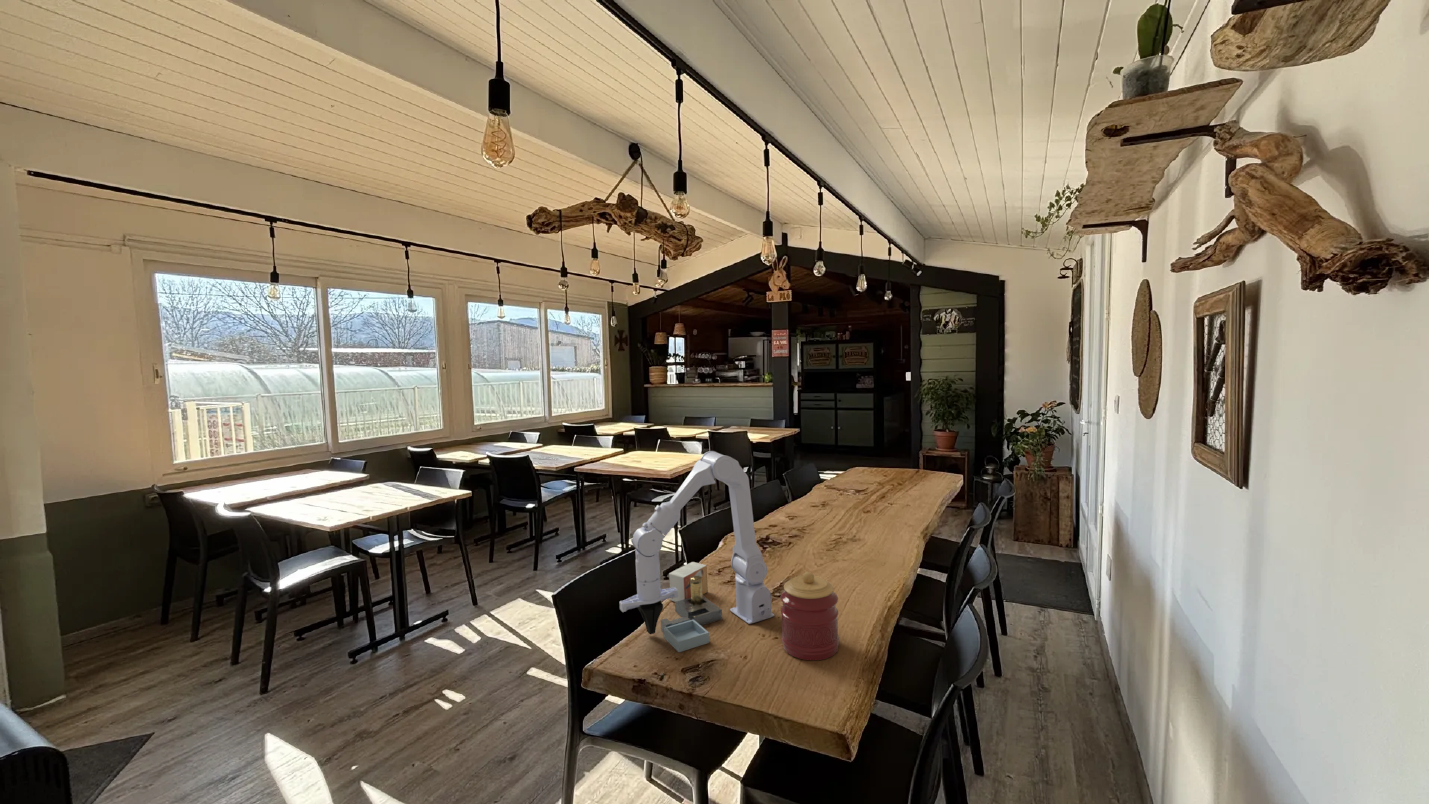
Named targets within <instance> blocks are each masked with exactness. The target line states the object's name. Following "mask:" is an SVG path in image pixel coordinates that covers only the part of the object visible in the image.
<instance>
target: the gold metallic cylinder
mask: <svg viewBox="0 0 1429 804" xmlns="http://www.w3.org/2000/svg"><path fill="white" fill-rule="evenodd" d="M690 584H691V604H692V605H693V606H695V605H699V604H702V603H703V601H702V577H701V576H692V577H690Z"/></svg>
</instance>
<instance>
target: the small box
mask: <svg viewBox="0 0 1429 804" xmlns="http://www.w3.org/2000/svg"><path fill="white" fill-rule="evenodd" d="M692 576H701V577H702V595H703V596H704V595H705V594H707V593H708V592H709V587H708V565H706V564H702V563H700V562H695V561H691V562H689V563H687V564H685V565H682V566H680V567H679V568H676V569H675V570H673V571H671V572H669V573H668V578H669V588H673V587H675V588H676V589H677V590H678V597H677V598H674V597H673V598H669V600H670V601H672V602H674V603H675V602H676V601H680V600H684V599H687V598H691V584H690V577H692Z"/></svg>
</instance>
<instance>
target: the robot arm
mask: <svg viewBox="0 0 1429 804" xmlns="http://www.w3.org/2000/svg"><path fill="white" fill-rule="evenodd" d="M716 480H718V481H720V482H722V483H724V484H725V485H727V486H728V493H729V500H730V508H731V518H732V526H733V535H734V541H735V542H734V543H735V544H734V545H733V546H732V556H731V560H730V566H731V569H732V570H733V571H734V572H735V577H734V578H735V599H736V600H735V602H736V603H735V604H736V606H735V607H732V608H731V607H730V609H729V611H730V612H732V613H733V614H734V615H736V617H739V618H740V619H741V620H742V621H744V622H745V623H747V624H749V625H752V624H754V623H757V622H761V621H764V620H768V619H770V618H773V617H775V614H774V613H773V612H772V593H771V591H770V590H769V588H768V587H767V586H766V585H765V582H764V580H765V579H766V577H767V576H768V575H767V574H768V566H767V564H766V563H765V561H764V557H763V553H762V551H761V550H760V548H759V546H758V544H757V540H756V532H755V531H756V530H755V522H754V514H753V513H754V512H753V505H752V497H751V488H750V478H749V476H748V473H746V472H745V470H744V469H743V468H742V466H741V465H740V463H739V461H738V460H736V459H735V458H734V457H731V456H729V455H724V454H722V453H719V452H717V451H715V450H709V451H706V452H704V453H703V454H702V455H701V457H700V459H698V460H697V461H696V462H695V464H693V467H692V469H691V471H690V473H689V474H688V475H687V477H686V478H685V480H684V481H683V482H682V484H681V485H680V486H679V488H678V489H677V490H676V492H675V493H674V495H673V496H672V497H671V498H670V500H669V501H666V502H665V501H664V502H661V504H660V505H659V504H657V505H656V506H655V508H654V510H655V511H654V512H653V513H652V515H651V516H650V517H649V518H648V520H647V521H646V522H643V523H642V526H641V527H639V528H637V529H636V530H635V531H634V533H633V535H632V538H631V539H630V541H631V544H632V546H633V547H634V548H635V575H636V576H635V578H636V594H634V595H632V596H630V597H628V598H626V599H624V600H620V601H619V610H620V611H621V612H622V613H624V612H627V611H628V610H632V609H635V608H637V609H638V611H639V613H640V615H641V617H642V619H643V621H644V625H645V628H646V633H648V635H653V634H656V629H657V625H658V621H659V618H660V615H661V613H662V612H663V609H664V604H663V602H662V601H666V600H667V599H669V600H670V598H673V597H674V598H677V597H678V590H677V589H676V588H675V587H673V588H670V587H669V588H662V585H661V566H660V555H659V554H660V553H659V552H660V551H661V549H662V547H663V540H664V539H665V537H666V536H667V535H668V534H669V533H670V531H671V530H672V529H673V527H674V526H675V525H676V524H677V522H678V521H679V520H680V519H681V510H682V509H683V508H684V506H686V505H687V503H688V502H689V501H690V500H691V499H692V498H693V496H695V494H696V493H698V491H699V490H700V489H701V488H702V487H704V486H709V485H714V484H716V483H717V482H716Z"/></svg>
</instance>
